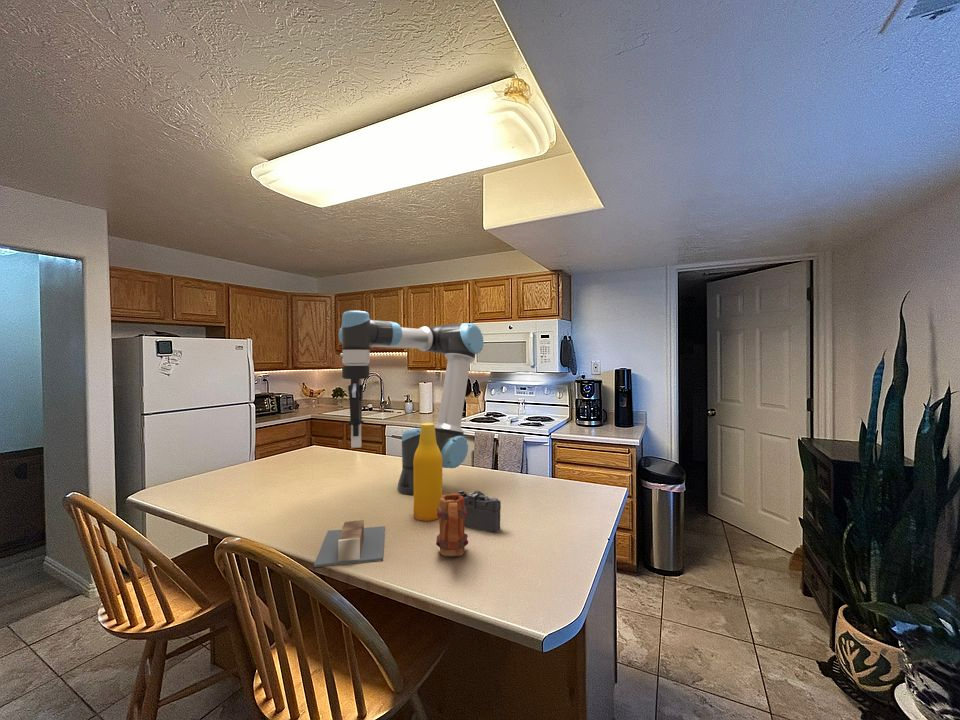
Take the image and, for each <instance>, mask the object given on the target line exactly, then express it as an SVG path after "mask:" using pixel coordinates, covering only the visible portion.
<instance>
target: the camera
mask: <svg viewBox="0 0 960 720" xmlns="http://www.w3.org/2000/svg"><path fill="white" fill-rule="evenodd" d="M456 494H460V495H461V496H463V497H464V506H466V507H467V509H466V512H467V515H466V516H465V524H464V528H465V527H467V528H470V529H474V530H475V529H476V530H479V531H483V532H486V533H487V532H489V533H492V534H493V533H499V531H501V508H502V507H501V505H502V503H501V500H500V499H499V498H496V497H489V495H488V494H487V495H486V494H485V493H483V492H482V491H480V490H474V491H473V492H470V493H468V494H467V492H466V491H465V490H458V491H457V492H456Z"/></svg>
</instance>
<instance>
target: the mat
mask: <svg viewBox="0 0 960 720" xmlns="http://www.w3.org/2000/svg"><path fill="white" fill-rule="evenodd" d="M341 531H342V529H332V530H327V532H326V535H325V536H324V539H323V542H322V544H321V546H320V549H319V550H318V553H317V556H316V559H315V561H314V563H313V568H321V567H329V566H331V567H332V566H343V565H349V564H350V565H351V564H361V563H362V564H363V563H370V562H372V563H373V562H382V561H383V560H384V551H385V539H386V536H385V535H386V525H380V526H370V527H368V526H367V527H364V541H363V546H362V551H361V556H360V559H359V560H349V561H339V562H338V540H339V537H340V534H341Z"/></svg>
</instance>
